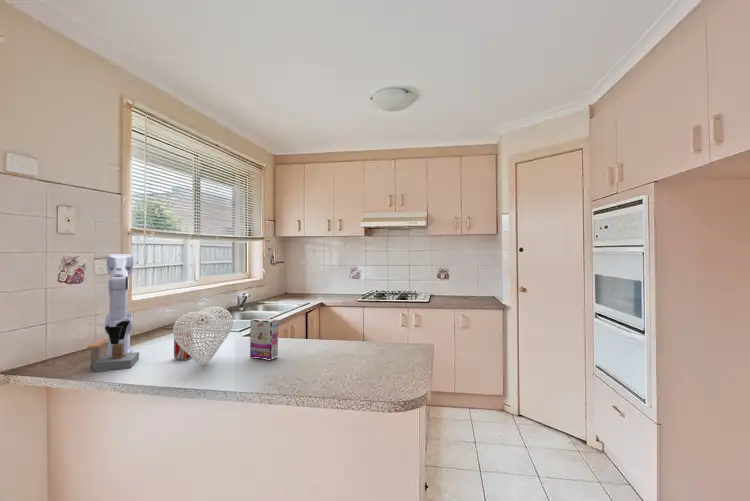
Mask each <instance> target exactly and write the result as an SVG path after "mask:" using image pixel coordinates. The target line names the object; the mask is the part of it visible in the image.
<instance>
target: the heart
mask: <svg viewBox="0 0 750 501" xmlns="http://www.w3.org/2000/svg"><path fill="white" fill-rule="evenodd" d="M202 319H203V321H202ZM233 324H234V317H233V315H232V314H231V312H230V311H229V310H228V309H226V308H224V307H221V306H218V305H215V306H214V305H213V306H212V305H211V306H207V307H204V308H203V309H201V310H199V311H191V312H187V313H184V314H183V315H182V316H180V317H179V318H177V319H176V321H175V322H174V324H173V327H172V334H173V340H174V339H175V341H176V342H177V344H178V345H179V346H180V347H181V348H182V349H183V350H184V351H185V352H186V353H188V354H189V355H190V356H191V357H190V358H192V359H193V361H195V362H196V363H197V364H198V365H201V366H206V365H208V364H209V362H211V361H212V360H213V357H214V356H215V354H216V353H217V351H219V348H220V347H221V345H223V343H224V341H225V340H226V339H227V337H228V336H229V335H230V333H231V331H232V328H233ZM180 329H181V331H180ZM184 329H185V331H184ZM187 329H188V331H187ZM177 330H178V331H177ZM189 331H190V332H189ZM191 331H192V332H191ZM175 333H176V335H175ZM177 333H178V336H177ZM179 333H180V334H181V336H180V334H179ZM182 333H183V336H182ZM187 333H188V335H187ZM189 333H190V334H189ZM184 334H185V338H184ZM191 334H192V335H191ZM189 335H191V338H190V336H189ZM187 336H188V338H187ZM202 336H203V337H202ZM176 338H177V339H176ZM178 339H179V340H178ZM180 339H181V340H180ZM183 339H184V340H183ZM190 339H192V341H191V340H190ZM186 340H187V342H186ZM188 340H189V343H188ZM181 341H182V342H181ZM183 341H184V342H185V343H184V342H183ZM191 342H193V343H191ZM187 344H188V345H187ZM189 344H190V345H189ZM192 344H193V345H192ZM199 344H200V345H199ZM185 345H186V347H185ZM188 346H189V347H188ZM183 347H184V348H183ZM189 348H190V349H191V350H190V349H189ZM187 349H188V350H187ZM188 351H189V352H188ZM191 351H192V352H191ZM190 353H191V354H190Z"/></svg>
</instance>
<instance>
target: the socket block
mask: <svg viewBox="0 0 750 501" xmlns="http://www.w3.org/2000/svg"><path fill="white" fill-rule="evenodd" d="M108 342H109V338H105V339H104V338H102V339H96V340H95V341H93V342H92V343H90V344H88V345H87V347H86V348H87V349H90V368H91V369H93V370H92V371H93V372H97V371H98V372H99V371H110V370H111V371H112V370H124V369H132V367H133V366H134V365H135V364H137V362H138V361H139V360H140V352H139V351H137V352H130V353H124V357H123V358H120V359H112V354H108V353H107V354H103V355H101V347H102V346H103V345H105V344H106V343H108Z"/></svg>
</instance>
